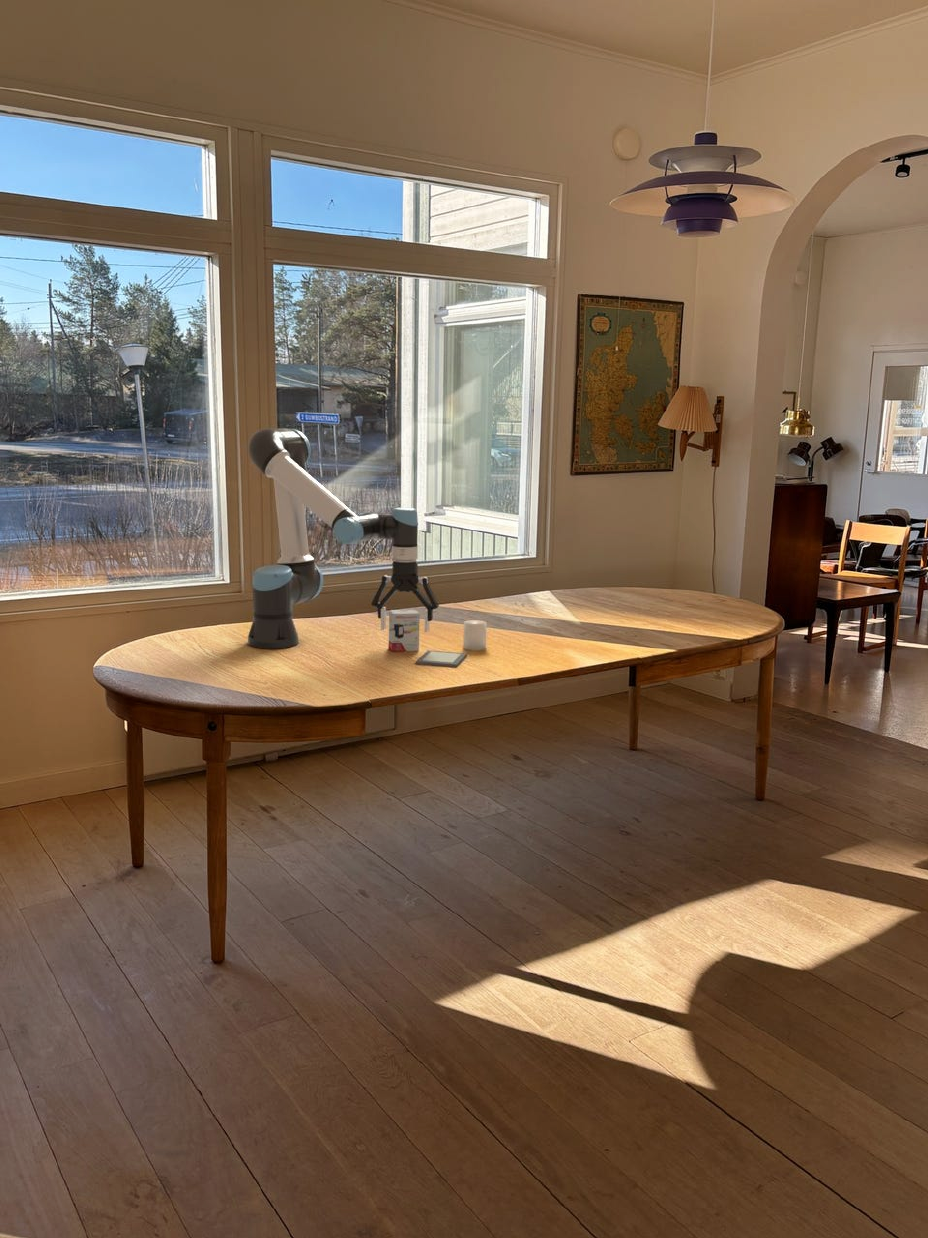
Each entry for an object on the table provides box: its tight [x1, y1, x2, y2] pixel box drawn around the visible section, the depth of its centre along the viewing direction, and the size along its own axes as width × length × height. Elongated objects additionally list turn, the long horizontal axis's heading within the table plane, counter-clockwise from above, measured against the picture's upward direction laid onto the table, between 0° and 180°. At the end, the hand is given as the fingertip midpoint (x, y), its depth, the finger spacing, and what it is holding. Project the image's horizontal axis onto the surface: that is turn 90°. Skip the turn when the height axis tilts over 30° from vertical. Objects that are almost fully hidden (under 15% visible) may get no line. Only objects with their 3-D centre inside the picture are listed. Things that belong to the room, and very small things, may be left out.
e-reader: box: [415, 649, 468, 668], centre depth 293 cm, size 12×14×1 cm
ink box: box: [388, 609, 421, 653], centre depth 304 cm, size 9×5×12 cm, turn 105°
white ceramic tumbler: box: [462, 619, 488, 652], centre depth 309 cm, size 7×7×8 cm
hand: (405, 630), depth 304 cm, fingers open, 13 cm apart
